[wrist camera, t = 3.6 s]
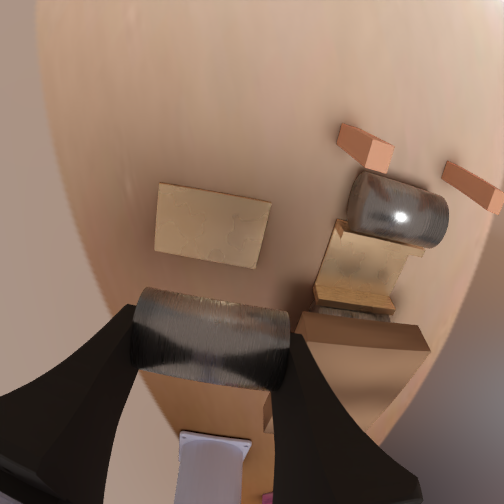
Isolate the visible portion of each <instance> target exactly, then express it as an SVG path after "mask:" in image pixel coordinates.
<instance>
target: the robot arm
mask: <svg viewBox="0 0 504 504" xmlns="http://www.w3.org/2000/svg"><path fill="white" fill-rule="evenodd" d="M135 310H136V306H135V305H130V304H127V305H125V306H124V307H123V308H122V309H121V310H120V311H119V312H118V313H117V314H116V315H115V316H114V317H113V318H112V319H111V320H110V321H109V322H108V323H107V324H106V325H105V326H104V327H103V328H102V329H101V330H100V331H99V332H97V333H96V334H95V335H94V336H93V337H92V338H91V339H90V340H89V341H88V342H86V343H85V344H84V345H83V346H81V347H80V348H79V349H78V350H77V351H75V352H74V353H73V354H72V355H71V356H69V357H68V358H67V359H65V360H64V361H63V362H61V363H60V364H59V365H57V366H56V367H54V368H53V369H51V370H50V371H48V372H46V373H45V374H43V375H42V376H40V377H38V378H37V379H35V380H33V381H32V382H30V383H28V384H26V385H24V386H22V387H20V388H18V389H16V390H14V391H12V392H10V393H8V394H5V395H3V396H1V397H0V504H103V499H104V491H105V483H106V478H107V471H108V466H109V461H110V456H111V451H112V446H113V442H114V438H115V433H116V429H117V426H118V422H119V419H120V416H121V414H122V411H123V408H124V406H125V403H126V401H127V398H128V395H129V393H130V390H131V388H132V385H133V383H134V380H135V378H136V375H137V372H138V370H139V369H136V368H133V367H132V365H131V362H130V339H131V333H132V328H133V324H134V321H133V317H134V313H135ZM271 404H272V416H273V428H274V441H275V467H274V486H273V500H272V504H421V503H422V502H423V497H422V492H421V487H420V484H419V481H418V478H417V477H416V476H415V475H413V474H412V473H411V472H409V471H408V470H407V469H405V468H404V467H402V466H401V465H399V464H398V463H397V462H396V461H394V460H393V459H392V458H391V457H390V456H389V455H387V454H386V453H385V452H384V451H383V450H382V449H381V448H380V447H379V446H378V445H377V444H376V443H375V442H374V441H373V440H372V439H371V438H370V437H369V436H368V435H367V434H366V433H365V432H364V431H363V430H362V429H361V428H360V427H359V425H358V424H357V423H356V422H355V421H354V419H353V418H352V417H351V416H350V414H349V413H348V412H347V411H346V409H345V408H344V406H343V405H342V404H341V402H340V401H339V399H338V398H337V396H336V395H335V393H334V392H333V390H332V389H331V387H330V385H329V384H328V382H327V380H326V379H325V377H324V375H323V373H322V372H321V370H320V368H319V366H318V365H317V363H316V361H315V359H314V357H313V355H312V353H311V351H310V349H309V347H308V345H307V343H306V341H305V339H304V337H303V336H302V334H297V333H290V345H289V353H288V359H287V365H286V369H285V373H284V376H283V379H282V382H281V384H280V386H279V388H278V389H277V391H275V392H271ZM251 444H252V442H251V441H250V440H242V439H233V438H226V437H218V436H211V435H205V434H199V433H193V432H187V431H181V432H180V442H179V462H180V466H179V473H178V479H177V486H176V493H175V500H174V504H241V488H242V464H243V460H244V458H245V456H246V455H247V453H248V451H249V449H250V447H251Z"/></svg>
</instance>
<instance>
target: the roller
mask: <svg viewBox="0 0 504 504" xmlns="http://www.w3.org/2000/svg"><path fill="white" fill-rule="evenodd" d="M133 321H134V324H133V328H132V333H131V339H130V362H131V365H132V367H133V368H136V369H140V370H145V371H149V372H153V373H158V374H163V375H167V376H172V377H177V378H183V379H188V380H193V381H199V382H205V383H211V384H217V385H224V386H231V387H238V388H245V389H253V390H262V391H271V392H275V391H277V389H278V388H279V386H280V384H281V382H282V379H283V376H284V373H285V369H286V365H287V359H288V353H289V345H290V319H289V315H288V313H287V311H283V310H276V309H270V308H263V307H257V306H250V305H244V304H238V303H232V302H226V301H220V300H215V299H209V298H203V297H198V296H192V295H187V294H182V293H176V292H171V291H166V290H161V289H156V288H151V287H146V288H145V289H144V291H143V292H142V294H141V296H140V298H139V301H138V303H137V306H136V310H135V313H134V317H133Z"/></svg>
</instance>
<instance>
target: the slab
mask: <svg viewBox="0 0 504 504" xmlns="http://www.w3.org/2000/svg"><path fill="white" fill-rule="evenodd" d="M295 333H297V334H302V336H303V337H304V339H305V341H306V343H307V345H308V347H309V349H310V351H311V353H312V355H313V357H314V359H315V361H316V363H317V365H318V366H319V368H320V370H321V372H322V373H323V375H324V377H325V379H326V380H327V382H328V384H329V385H330V387H331V389H332V390H333V392H334V393H335V395H336V396H337V398H338V399H339V401H340V402H341V404H342V405H343V406H344V408H345V409H346V411H347V412H348V413H349V414H350V416H351V417H352V418H353V419H354V421H355V422H356V423H357V424H358V425H359V427H360V428H361V429H362V430H363V431H364V432H366V431H367V430H368V429H369V428H370V427H371V426H372V424H373V423H374V422H375V421H376V420H377V419H378V418H379V417H380V416H381V414H382V413H383V412H384V411H385V410H386V409H387V407H388V406H389V405H390V404H391V403H392V402H393V400H394V399H395V398H396V397H397V396H398V394H399V393H400V392H401V391H402V389H403V388H404V387H405V386H406V384H407V383H408V382H409V380H410V379H411V378H412V377H413V375H414V374H415V373H416V371H417V370H418V369H419V367H420V366H421V365H422V363H423V362H424V360H425V359H426V358H427V356H428V355H429V353H430V352H431V351H430V349H429V347H428V345H427V343H426V341H425V339H424V337H423V335H422V333H421V331H420V329H419V327H418V325H409V324H399V323H390V322H382V321H373V320H365V319H357V318H349V317H342V316H334V315H327V314H320V313H313V312H306V311H303V312H302V315H301V317H300V320H299V322H298V325H297V328H296V330H295ZM263 411H264V433H272V434H274V428H273V416H272V404H271V391H270V393H269V395H268V398H267V400H266V402H265V404H264V407H263Z"/></svg>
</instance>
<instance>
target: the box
mask: <svg viewBox="0 0 504 504" xmlns="http://www.w3.org/2000/svg"><path fill="white" fill-rule="evenodd" d="M272 500H273V492H271V493H267V494H263V497H262V504H272Z"/></svg>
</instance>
